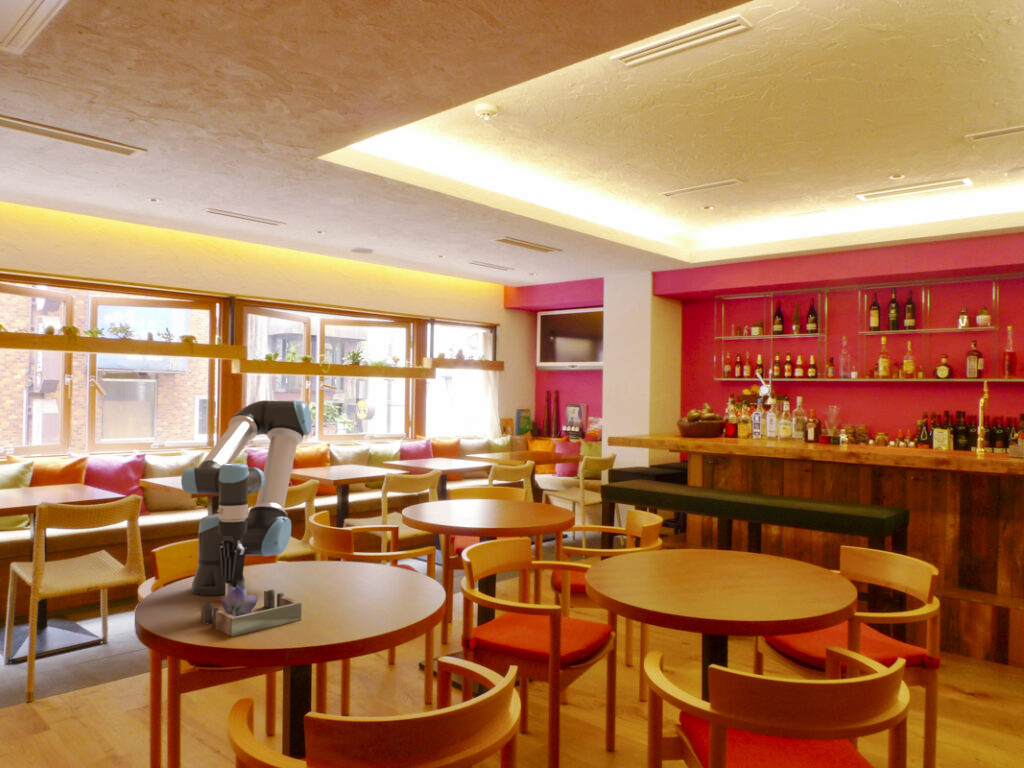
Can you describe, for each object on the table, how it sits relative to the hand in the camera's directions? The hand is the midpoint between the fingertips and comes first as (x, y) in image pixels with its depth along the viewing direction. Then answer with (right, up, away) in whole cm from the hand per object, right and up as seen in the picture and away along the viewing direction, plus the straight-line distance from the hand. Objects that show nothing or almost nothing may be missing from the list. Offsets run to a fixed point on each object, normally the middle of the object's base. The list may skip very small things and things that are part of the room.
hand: (231, 605), depth 195 cm
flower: (+4, -2, -5) cm, 7 cm away
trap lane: (+8, -2, -7) cm, 11 cm away
